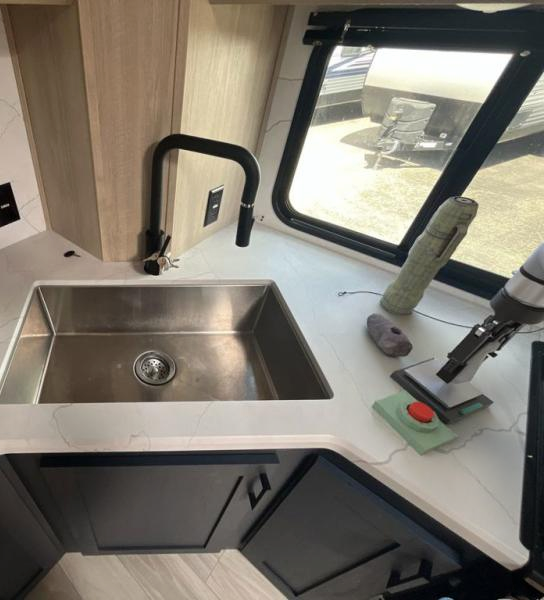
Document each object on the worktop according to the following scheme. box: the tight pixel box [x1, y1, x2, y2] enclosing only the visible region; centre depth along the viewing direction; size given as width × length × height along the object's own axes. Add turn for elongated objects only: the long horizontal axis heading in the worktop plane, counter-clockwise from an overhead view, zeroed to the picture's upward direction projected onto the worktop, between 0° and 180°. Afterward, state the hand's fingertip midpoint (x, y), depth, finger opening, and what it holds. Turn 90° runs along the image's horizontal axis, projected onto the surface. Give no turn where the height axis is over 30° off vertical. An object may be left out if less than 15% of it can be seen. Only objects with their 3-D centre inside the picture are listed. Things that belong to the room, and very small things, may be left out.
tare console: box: [371, 389, 458, 456], centre depth 70 cm, size 12×9×4 cm
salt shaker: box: [440, 336, 500, 385], centre depth 70 cm, size 6×6×13 cm
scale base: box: [389, 357, 495, 426], centre depth 77 cm, size 14×14×3 cm
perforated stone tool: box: [366, 312, 414, 358], centre depth 88 cm, size 15×5×7 cm, turn 179°
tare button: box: [408, 402, 434, 423], centre depth 69 cm, size 4×4×2 cm
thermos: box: [379, 195, 480, 316], centre depth 91 cm, size 9×12×35 cm
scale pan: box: [403, 358, 485, 409], centre depth 76 cm, size 11×11×1 cm
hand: (452, 374), depth 74 cm, fingers closed on salt shaker, 6 cm apart
